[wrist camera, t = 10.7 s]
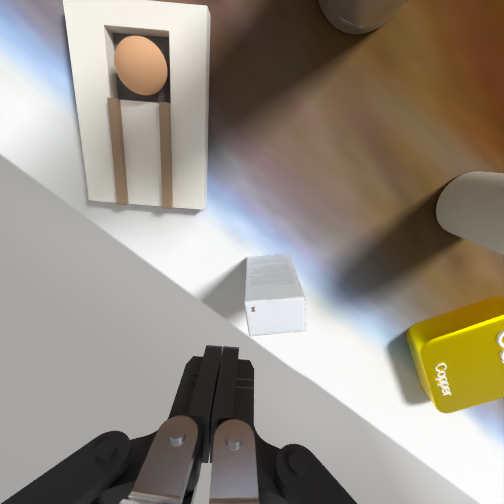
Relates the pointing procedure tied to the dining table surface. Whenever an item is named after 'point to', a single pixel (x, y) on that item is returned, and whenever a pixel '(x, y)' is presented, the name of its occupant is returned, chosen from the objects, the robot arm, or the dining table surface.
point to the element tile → (461, 355)
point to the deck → (142, 103)
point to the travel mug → (474, 209)
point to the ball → (140, 65)
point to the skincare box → (273, 296)
